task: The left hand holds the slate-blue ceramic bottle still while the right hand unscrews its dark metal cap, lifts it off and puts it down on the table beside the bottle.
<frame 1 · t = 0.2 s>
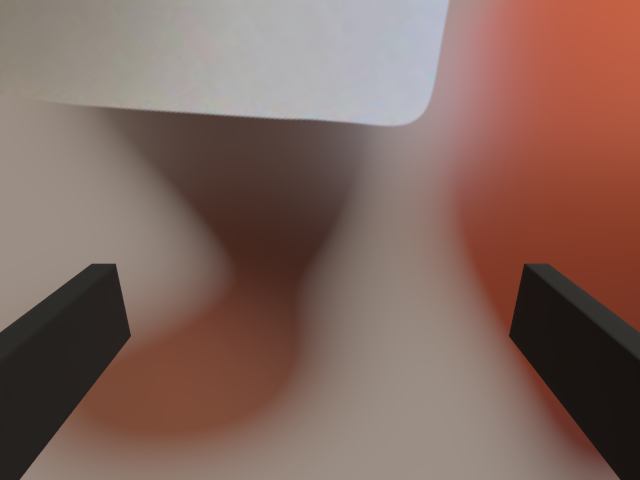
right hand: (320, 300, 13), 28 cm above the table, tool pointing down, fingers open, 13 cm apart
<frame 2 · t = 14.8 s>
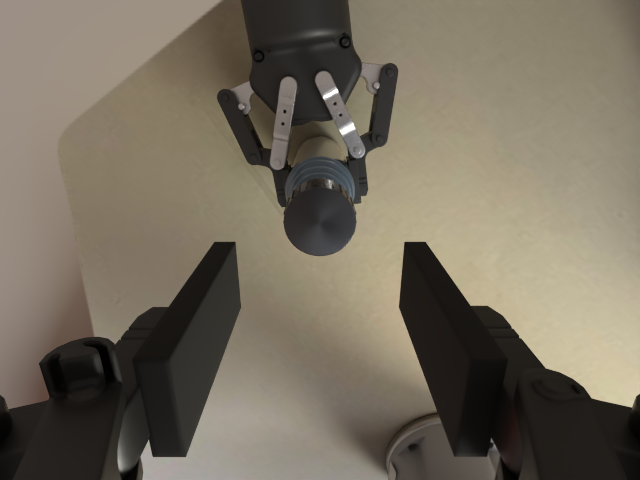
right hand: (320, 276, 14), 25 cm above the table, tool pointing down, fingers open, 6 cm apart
left hand: (324, 204, 33), fingers closed on bottle, 4 cm apart
bottle: (320, 161, 38), on the table, touching left hand
cap: (319, 221, 20), point 19 cm above the table, screwed on, not yet turned
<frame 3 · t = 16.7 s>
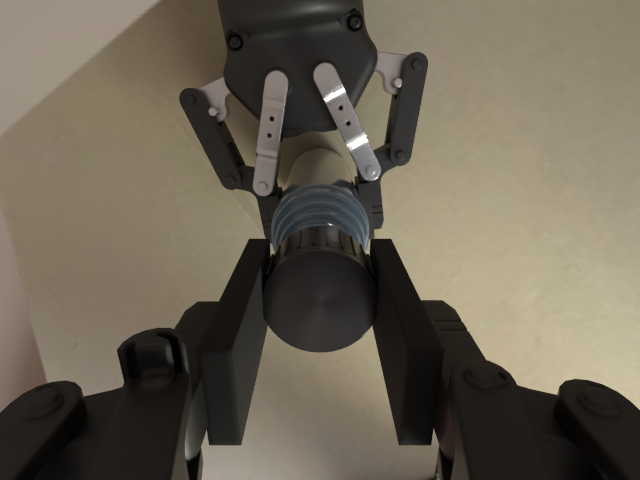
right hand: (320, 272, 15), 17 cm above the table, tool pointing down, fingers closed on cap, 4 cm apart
left hand: (326, 239, 25), fingers closed on bottle, 5 cm apart
bottle: (320, 178, 30), on the table, touching left hand
cap: (320, 299, 13), point 19 cm above the table, screwed on, not yet turned, touching right hand
when the right hand's fingers open (1 cm above the table, at t = 35.1 s): cap drops 2 cm, point 2 cm above the table.
when the left hand's fingers open (7 cm above the table, at t = 36.4 s): bottle stays where it is, on the table.
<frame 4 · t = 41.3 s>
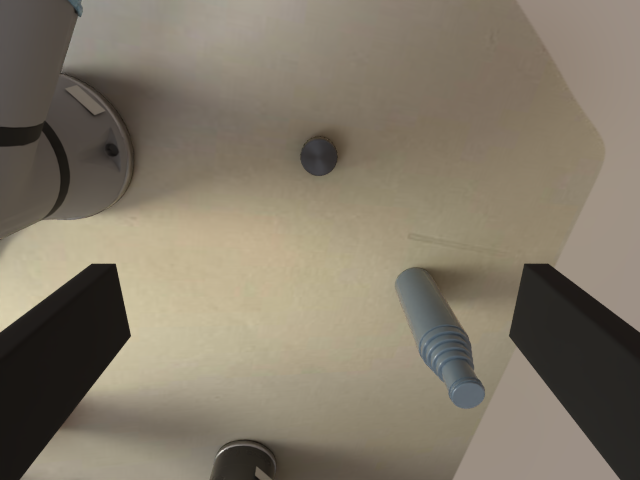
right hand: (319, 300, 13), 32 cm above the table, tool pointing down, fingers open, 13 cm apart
bottle: (414, 284, 48), on the table
cap: (318, 157, 40), point 2 cm above the table, off its thread
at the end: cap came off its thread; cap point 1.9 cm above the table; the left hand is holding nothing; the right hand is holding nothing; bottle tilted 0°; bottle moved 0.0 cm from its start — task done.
